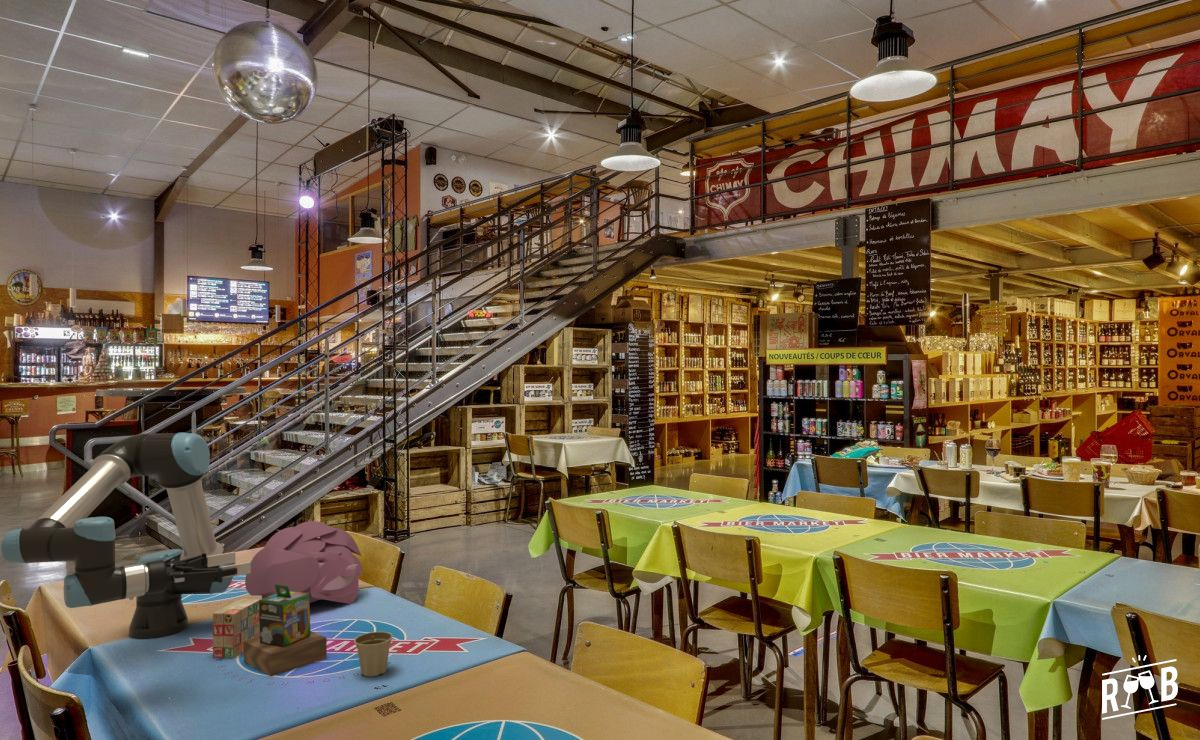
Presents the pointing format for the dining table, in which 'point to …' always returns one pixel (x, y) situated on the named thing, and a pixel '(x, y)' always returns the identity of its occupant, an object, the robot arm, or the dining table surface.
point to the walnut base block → (284, 654)
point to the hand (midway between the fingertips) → (242, 562)
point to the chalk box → (284, 617)
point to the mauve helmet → (308, 563)
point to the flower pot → (373, 652)
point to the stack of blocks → (235, 627)
